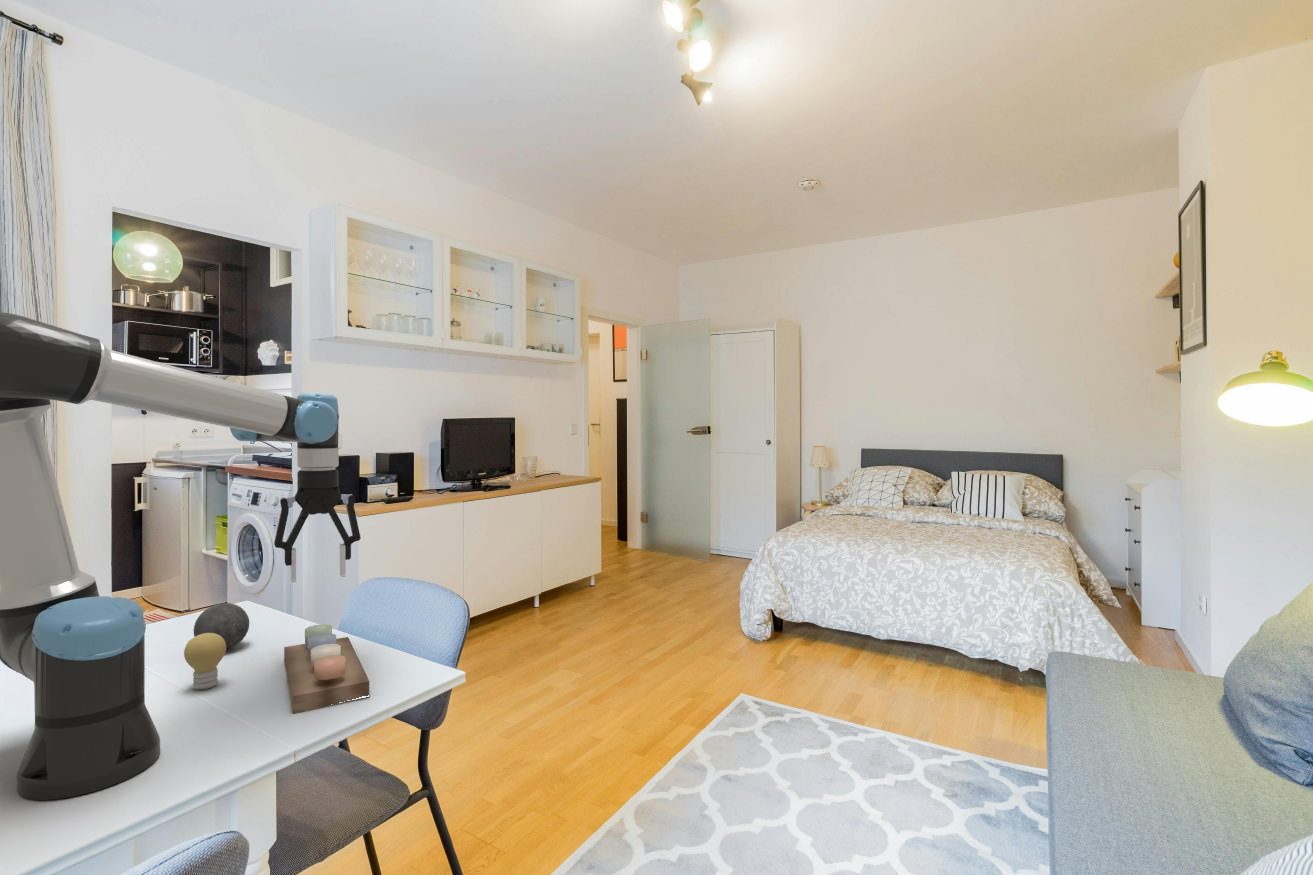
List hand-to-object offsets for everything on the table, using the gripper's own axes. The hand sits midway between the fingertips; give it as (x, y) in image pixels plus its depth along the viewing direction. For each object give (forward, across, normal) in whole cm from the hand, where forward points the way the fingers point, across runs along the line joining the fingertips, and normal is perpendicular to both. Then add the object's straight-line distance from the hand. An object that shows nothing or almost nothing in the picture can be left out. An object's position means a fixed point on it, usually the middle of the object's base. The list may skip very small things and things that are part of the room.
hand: (318, 577), depth 131 cm
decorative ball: (+18, +17, -18) cm, 31 cm away
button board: (+17, 0, +10) cm, 20 cm away
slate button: (+13, 0, +7) cm, 15 cm away
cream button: (+13, 0, +14) cm, 19 cm away
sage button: (+13, 0, 0) cm, 13 cm away
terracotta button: (+13, 0, +21) cm, 25 cm away
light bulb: (+18, +19, +4) cm, 26 cm away
